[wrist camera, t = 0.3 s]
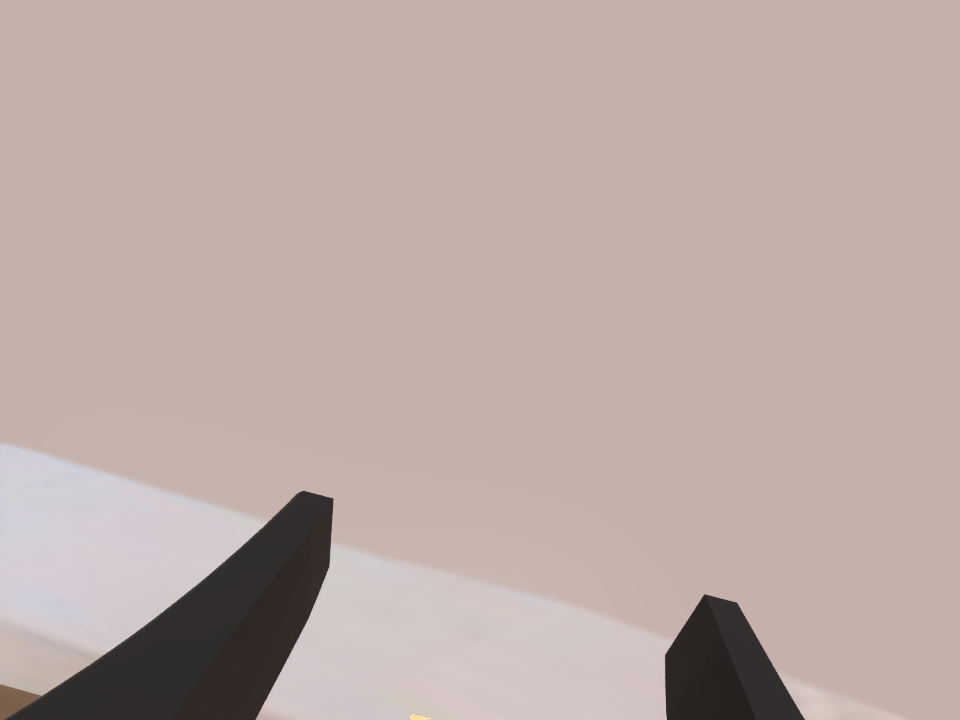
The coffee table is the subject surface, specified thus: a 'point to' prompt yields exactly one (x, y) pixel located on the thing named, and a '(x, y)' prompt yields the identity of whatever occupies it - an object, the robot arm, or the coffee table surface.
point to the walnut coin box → (14, 700)
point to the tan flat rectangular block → (418, 717)
